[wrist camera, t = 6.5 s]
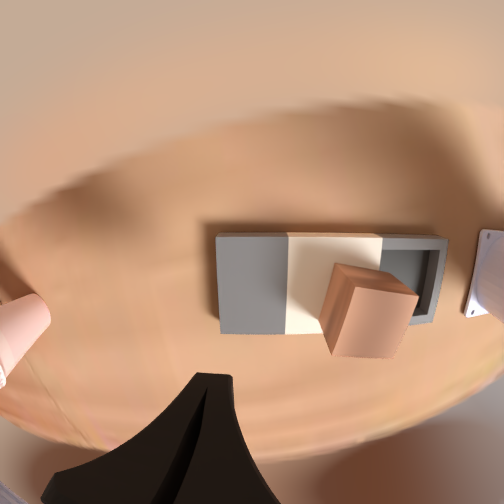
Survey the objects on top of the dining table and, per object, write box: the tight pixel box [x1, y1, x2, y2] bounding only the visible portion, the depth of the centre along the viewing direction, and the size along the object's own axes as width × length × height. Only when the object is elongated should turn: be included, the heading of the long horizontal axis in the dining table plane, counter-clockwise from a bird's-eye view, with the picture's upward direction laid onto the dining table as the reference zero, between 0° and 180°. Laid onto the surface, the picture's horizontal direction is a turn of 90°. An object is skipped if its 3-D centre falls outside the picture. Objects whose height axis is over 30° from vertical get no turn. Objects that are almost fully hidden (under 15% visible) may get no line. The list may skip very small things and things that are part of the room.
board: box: [215, 232, 449, 334], centre depth 17 cm, size 16×6×2 cm, turn 90°
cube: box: [318, 263, 419, 359], centre depth 15 cm, size 4×4×4 cm
